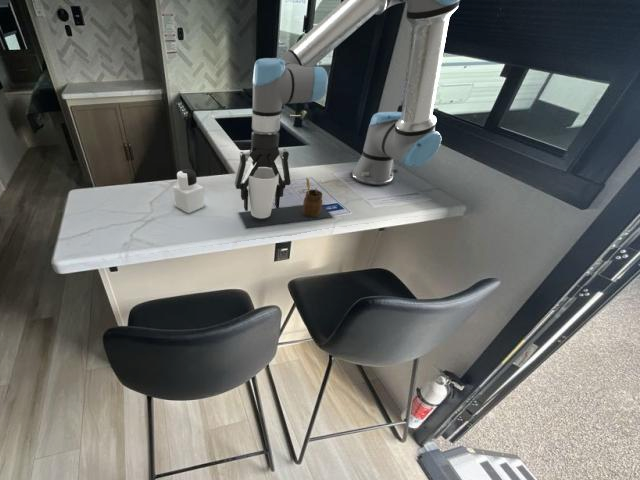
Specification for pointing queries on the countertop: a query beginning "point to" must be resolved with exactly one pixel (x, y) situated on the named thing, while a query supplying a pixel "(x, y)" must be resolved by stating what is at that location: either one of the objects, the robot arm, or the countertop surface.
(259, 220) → the edge runner mat
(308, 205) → the utensil holder
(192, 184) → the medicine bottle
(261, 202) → the foam cup
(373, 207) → the countertop surface
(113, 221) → the countertop surface
